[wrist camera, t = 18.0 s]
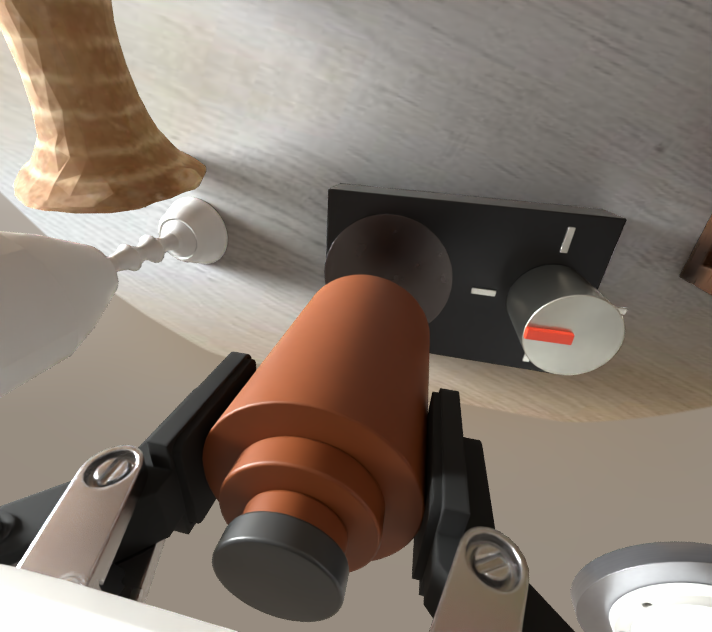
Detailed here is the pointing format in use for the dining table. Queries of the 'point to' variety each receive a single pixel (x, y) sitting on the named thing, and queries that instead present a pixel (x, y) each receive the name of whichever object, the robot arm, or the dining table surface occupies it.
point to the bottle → (324, 451)
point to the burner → (395, 258)
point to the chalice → (82, 285)
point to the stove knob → (564, 321)
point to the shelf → (700, 261)
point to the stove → (487, 256)
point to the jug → (87, 114)
